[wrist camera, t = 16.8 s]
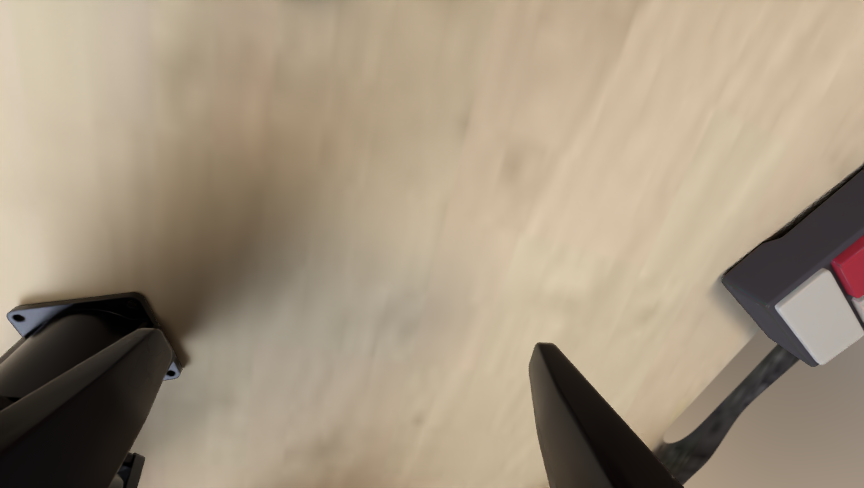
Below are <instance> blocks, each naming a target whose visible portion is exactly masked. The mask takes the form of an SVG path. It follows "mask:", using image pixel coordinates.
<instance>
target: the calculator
mask: <svg viewBox="0 0 864 488" xmlns="http://www.w3.org/2000/svg"><path fill="white" fill-rule="evenodd" d="M722 283H723V284H724V285H725V287H726V288H727V289H728V290H729V291H730V292H731V294H732V295H733V296H734V297H735V298H736V300H737V301H738V302H739V303H740V304H741V305H742V307H743V308H744V309H745V310H746V311H747V313H748V314H749V315H750V316H751V317H752V318H753V320H754V321H755V322H756V323H757V324H758V325H759V327H760V328H761V329H762V330H763V331H764V333H765V334H766V335H767V336H768V337H769V338H770V339H772V340H773V341H774V342H776V343H777V344H779V345H780V346H782V347H783V348H785V349H786V350H787V351H789V352H790V353H792V354H793V355H795V356H796V357H798V358H799V359H801V360H802V361H804V362H805V363H806V364H808V365H810V366H811V367H815V366H817V365H818V364H820V365H824V364H825V363H827V362H828V361H830V360H831V359H832V358H834V357H835V356H836V355H838V354H839V353H840V352H842V351H843V350H845V349H846V348H847V347H849V346H850V345H851V344H853V343H854V342H856V341H857V340H858V339H860V338H861V337H862V336H863V335H864V169H863V170H861V171H860V172H859V173H858V174H857V175H855V176H854V177H853V178H852V179H851V180H850V181H848V182H847V183H846V184H845V185H844V186H842V187H841V188H840V189H839V190H838V191H837V192H835V193H834V194H833V195H832V196H831V197H829V198H828V199H827V200H826V201H825V202H823V203H822V204H821V205H820V206H819V207H818V208H816V209H815V210H814V211H813V212H812V213H810V214H809V215H808V216H807V217H806V218H805V219H803V220H802V221H801V222H800V223H799V224H797V225H796V226H795V227H794V228H793V229H791V230H790V231H789V232H788V233H787V234H785V235H784V236H783V237H781V238H779V239H775V240H772V241H769V242H765V243H762V244H761V245H760V246H759V247H757V248H756V249H755V250H754V251H753V252H751V253H750V254H749V255H748V256H747V257H746V258H744V259H743V260H742V261H741V262H740V263H738V264H737V265H736V266H735V267H734V268H733V269H731V270H730V271H729V272H728V273H727V274H726V275H725V276H724V277H723V278H722Z"/></svg>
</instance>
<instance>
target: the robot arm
mask: <svg viewBox="0 0 864 488" xmlns="http://www.w3.org/2000/svg"><path fill="white" fill-rule="evenodd" d="M131 301H134V302H135V303H133V302H131ZM21 315H22V316H21ZM7 318H8V320H9V321H10V322H11V324H12V325H13V326H14V327H15V329H16V330H17V331H18V332H19V334H20V335H21V336H22V338H21V339H20V340H19V341H18V342H17V343H16V344H15V345H14V346H12V347H11V348H10V349H9V350H8V351H7V352H6V353H5V354H4V355H3V356H1V357H0V488H137V486H138V483H139V479H140V476H141V472H142V468H143V465H144V461H145V457H144V456H142V455H139V454H137V453H133V454H132V453H129V450H130V449H131V447H132V445H133V443H134V441H135V440H136V438H137V436H138V434H139V432H140V430H141V428H142V426H143V424H144V422H145V420H146V418H147V416H148V414H149V412H150V409H151V407H152V405H153V402H154V400H155V398H156V395H157V393H158V391H159V388H160V386H161V384H162V381H163V380H169V379H175V378H177V377H179V375H180V374H181V372H182V366H181V364H180V362H179V361H178V359H177V357H176V354H175V352H174V350H173V348H172V346H171V345H170V343H169V341H168V339H167V337H166V335H165V333H164V332H163V330H162V328H161V326H160V325H159V324H158V322H157V320H156V318H155V316H154V315H153V313H152V311H151V309H150V307H149V305H148V303H147V302H146V300H145V298H144V297H143V296H142V295H140V294H138V293H124V294H115V295H107V296H99V297H90V298H82V299H74V300H65V301H57V302H48V303H40V304H32V305H23V306H17V307H15V308H14V309H12V310H11V311H10V312H9V313H8V314H7ZM529 377H530V385H531V392H532V400H533V407H534V415H535V422H536V429H537V435H538V440H539V444H540V449H541V453H542V457H543V461H544V465H545V469H546V473H547V477H548V481H549V485H550V488H684V487H683V486H682V485H681V484H680V482H679V481H678V480H677V479H676V478H674V477H673V478H672V474H671V473H670V472H669V470H668V469H667V468H666V467H665V466H664V465H663V464H662V463H661V462H660V460H659V459H658V458H657V457H656V456H655V455H654V454H653V453H652V452H651V450H650V449H649V448H648V447H647V446H646V445H645V444H644V443H643V442H642V441H641V439H640V438H639V437H638V436H637V435H636V434H635V433H634V432H633V431H632V429H631V428H630V427H629V426H628V425H627V424H626V423H625V422H624V421H623V419H622V418H621V417H620V416H619V415H618V414H617V413H616V412H615V411H614V409H613V408H612V407H611V406H610V405H609V404H608V403H607V402H606V401H605V399H604V398H603V397H602V396H601V395H600V394H599V393H598V392H597V391H596V390H595V388H594V387H593V386H592V385H591V384H590V383H589V382H588V381H587V380H586V378H585V377H584V376H583V375H582V374H581V373H580V372H579V371H578V370H577V368H576V367H575V366H574V365H573V364H572V363H571V362H570V361H569V360H568V358H567V357H566V356H565V355H564V354H563V353H562V352H561V351H560V350H559V349H558V347H557V346H556V345H554V344H553V343H540V342H539V343H537V344H536V345H535V347H534V350H533V353H532V357H531V360H530V363H529Z"/></svg>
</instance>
